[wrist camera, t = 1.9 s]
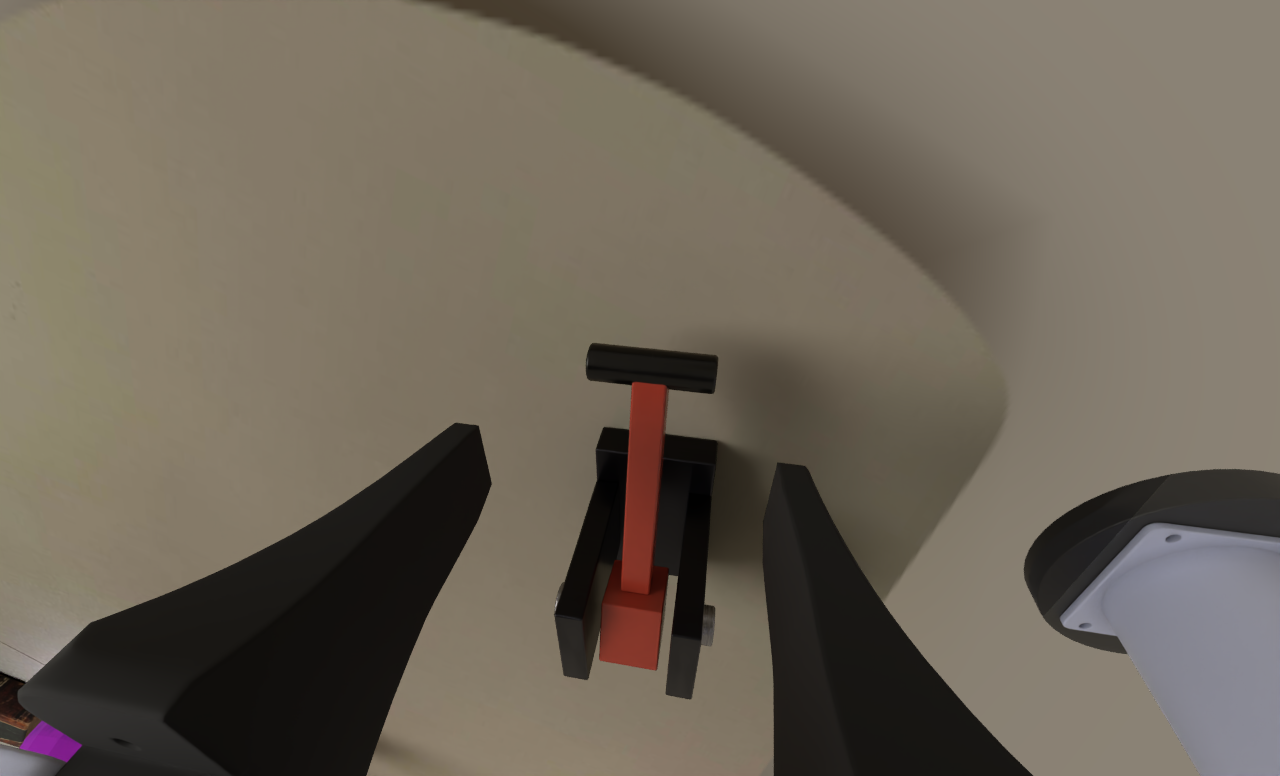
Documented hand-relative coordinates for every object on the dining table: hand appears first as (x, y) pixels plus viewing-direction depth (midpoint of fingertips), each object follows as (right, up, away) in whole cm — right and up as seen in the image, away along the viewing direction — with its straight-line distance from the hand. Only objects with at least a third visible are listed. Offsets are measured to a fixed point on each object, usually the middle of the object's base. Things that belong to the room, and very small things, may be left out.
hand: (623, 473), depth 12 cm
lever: (+1, -2, +7) cm, 7 cm away
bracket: (+1, -3, +12) cm, 12 cm away
